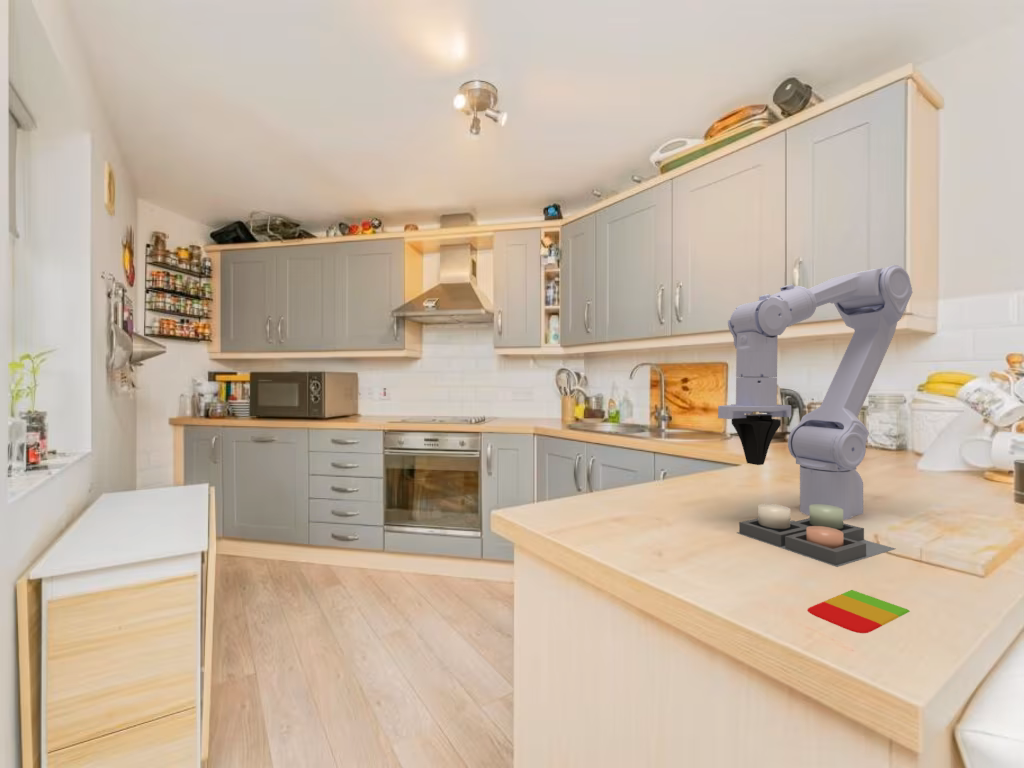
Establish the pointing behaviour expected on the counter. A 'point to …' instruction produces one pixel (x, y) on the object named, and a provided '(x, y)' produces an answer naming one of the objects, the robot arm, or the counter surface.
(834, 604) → the striped ice pop
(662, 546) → the counter surface
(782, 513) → the cream button
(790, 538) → the grey compartment tray
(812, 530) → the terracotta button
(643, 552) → the counter surface
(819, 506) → the sage button
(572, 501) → the counter surface
